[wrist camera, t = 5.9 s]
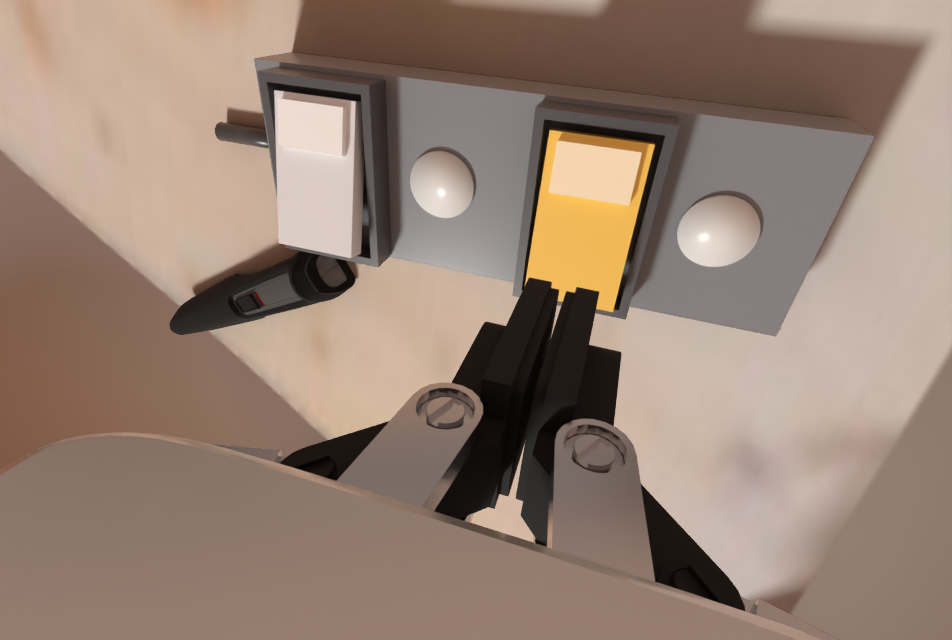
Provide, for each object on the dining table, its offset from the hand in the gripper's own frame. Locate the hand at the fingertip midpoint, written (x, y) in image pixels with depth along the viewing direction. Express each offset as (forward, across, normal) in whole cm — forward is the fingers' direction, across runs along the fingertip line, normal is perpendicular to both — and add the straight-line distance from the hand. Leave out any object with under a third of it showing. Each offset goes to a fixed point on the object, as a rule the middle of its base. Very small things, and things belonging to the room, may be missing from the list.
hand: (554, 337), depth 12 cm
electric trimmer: (+16, +21, +12) cm, 29 cm away
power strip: (+15, +6, +1) cm, 17 cm away
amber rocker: (+11, 0, +1) cm, 11 cm away
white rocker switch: (+11, +13, +1) cm, 17 cm away
